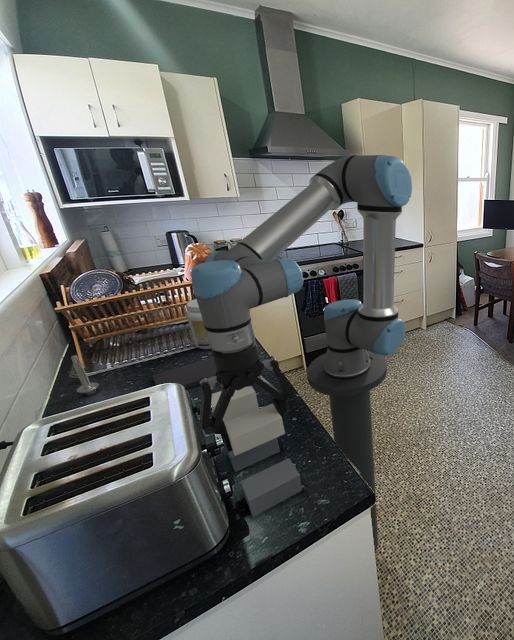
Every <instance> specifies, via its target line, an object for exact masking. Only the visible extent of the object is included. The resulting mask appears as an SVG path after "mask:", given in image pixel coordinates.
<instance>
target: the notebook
mask: <svg viewBox="0 0 514 640" xmlns="http://www.w3.org/2000/svg"><path fill="white" fill-rule="evenodd" d="M215 374H216V366H215V363H214V359H213V357H210V358H209V357H208V358H206V359H203V360H199V361H195V362H193V363H189V364H186V365H183V366H182V365H181V366H179V367H175V368H172V369H169V370H165V371H162V372H159V373H155V374H153V375H152V379H153V382H154V384H155V386H156V385H158V384H163V383H169V382H171V383H179V384H182V385H183V386H184V387H185V388H186V389H185V390H187V389H190V388H193V387H196V386H200V383H199V379H200V378H202V377H205V378H206V379H207V378H210V377H213V376H215Z"/></svg>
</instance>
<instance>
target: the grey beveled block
mask: <svg viewBox="0 0 514 640" xmlns="http://www.w3.org/2000/svg"><path fill="white" fill-rule="evenodd" d="M240 485H241V489H242V493H243V496H244V500H245V501H246V504H247V506H248V510H249V512H250V514H251V517H252V518H255V517H256V516H258V515H259V514H261V513H263V512H265V511H267V510H269V509H271V508H273V507H274V506H276V505H278V504H280V503H281V502H283V501H285V500H288V499H289V498H292V496H294V495H296V494H298V493H300V492H303V486H302V481H301V475H300V473H299V471H298V469H297V468H296V467H295V465H294V463H293V461H292V460H291V458H290V457H288V458H286V459H284V460H282V461H280V462H277V463H276V464H273V465H271V466H269V467H267V468H265V469H263V470H261V471H259V472H257V473H255V474H252V475H250V476H249V477H247V478H244V479H242V480H240Z"/></svg>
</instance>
